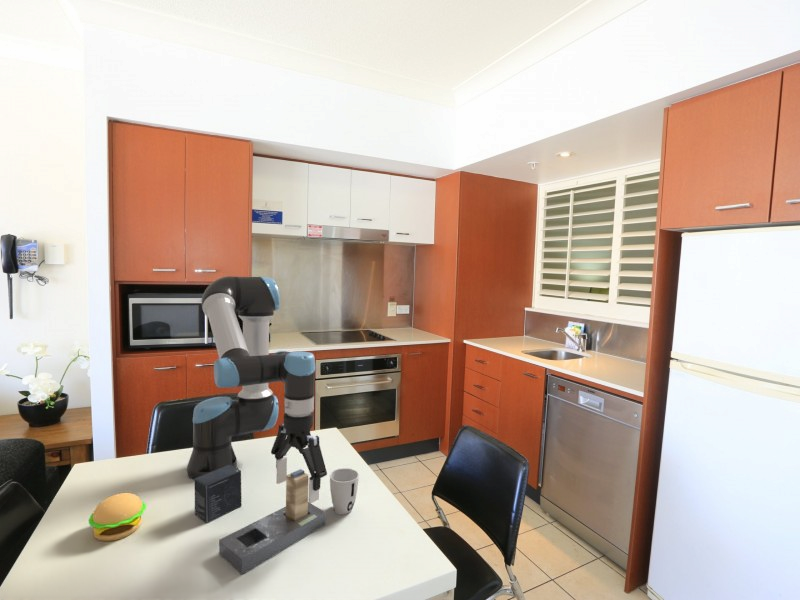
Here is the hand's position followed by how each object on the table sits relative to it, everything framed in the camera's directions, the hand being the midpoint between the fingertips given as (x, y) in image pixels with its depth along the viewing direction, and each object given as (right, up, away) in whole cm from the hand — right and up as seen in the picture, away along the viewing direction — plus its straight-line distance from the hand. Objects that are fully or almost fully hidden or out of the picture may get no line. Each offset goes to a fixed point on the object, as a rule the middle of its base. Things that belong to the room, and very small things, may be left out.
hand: (296, 491), depth 107 cm
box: (-23, -9, +6) cm, 26 cm away
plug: (0, -10, 0) cm, 10 cm away
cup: (+11, -10, +9) cm, 17 cm away
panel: (-4, -10, -5) cm, 12 cm away
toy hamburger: (-45, -9, -3) cm, 46 cm away
